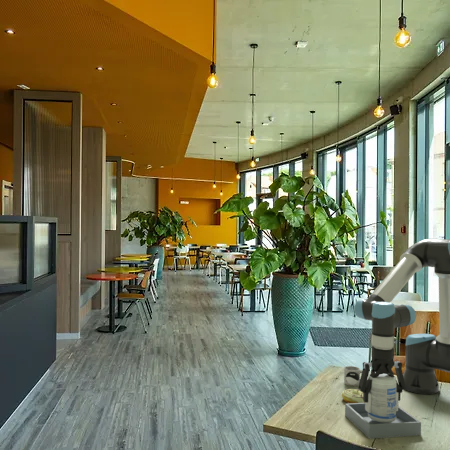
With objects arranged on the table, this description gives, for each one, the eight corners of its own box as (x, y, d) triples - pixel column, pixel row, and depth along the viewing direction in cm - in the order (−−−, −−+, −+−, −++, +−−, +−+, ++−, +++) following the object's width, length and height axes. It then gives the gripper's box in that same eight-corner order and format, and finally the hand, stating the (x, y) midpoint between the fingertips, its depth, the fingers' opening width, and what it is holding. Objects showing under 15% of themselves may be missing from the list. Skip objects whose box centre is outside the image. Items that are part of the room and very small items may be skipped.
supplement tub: (393, 426, 158) (394, 382, 158) (364, 420, 162) (365, 377, 162) (398, 415, 166) (398, 374, 166) (370, 410, 171) (371, 370, 171)
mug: (345, 385, 204) (345, 370, 204) (343, 380, 210) (343, 365, 210) (368, 387, 203) (369, 371, 203) (366, 381, 209) (366, 367, 209)
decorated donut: (364, 409, 179) (365, 399, 179) (337, 402, 185) (338, 392, 185) (373, 400, 187) (373, 391, 187) (347, 394, 194) (347, 385, 194)
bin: (391, 412, 175) (392, 401, 175) (420, 435, 157) (421, 422, 157) (345, 415, 172) (345, 403, 172) (369, 438, 154) (369, 425, 154)
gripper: (405, 343, 170) (404, 404, 170) (348, 344, 166) (347, 407, 166) (417, 348, 162) (416, 413, 163) (357, 350, 159) (356, 416, 159)
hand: (381, 410), depth 164 cm, fingers open, 9 cm apart
